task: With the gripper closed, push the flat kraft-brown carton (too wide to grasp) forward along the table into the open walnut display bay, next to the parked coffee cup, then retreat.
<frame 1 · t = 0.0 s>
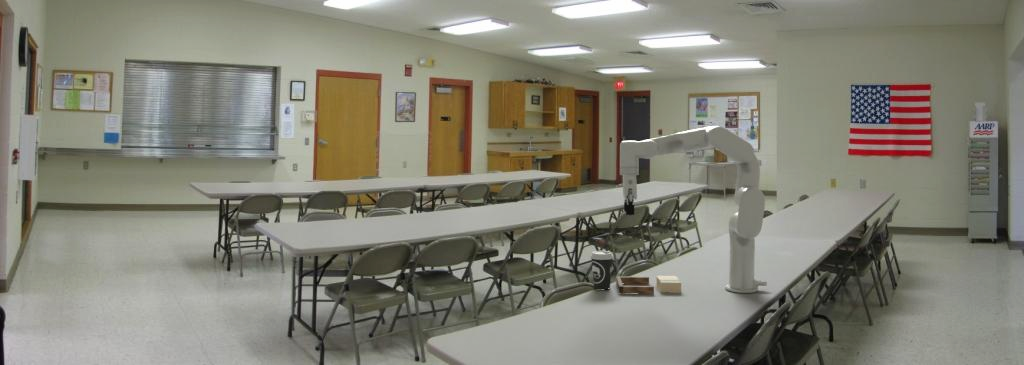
hand: (629, 213, 267), 31 cm above the table, fingers open, 9 cm apart
carton: (668, 289, 268), on the table
coffee cup: (601, 288, 271), on the table
display bay: (636, 288, 269), on the table
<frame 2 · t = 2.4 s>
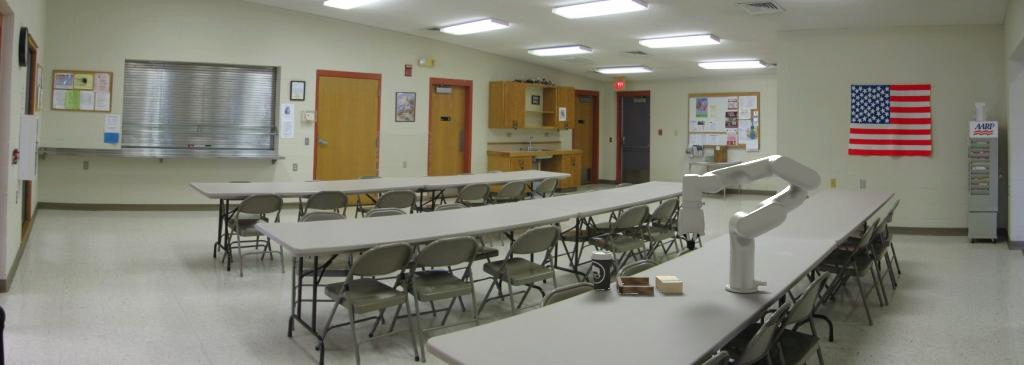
hand: (690, 249, 266), 16 cm above the table, fingers closed
nothing on the table moved.
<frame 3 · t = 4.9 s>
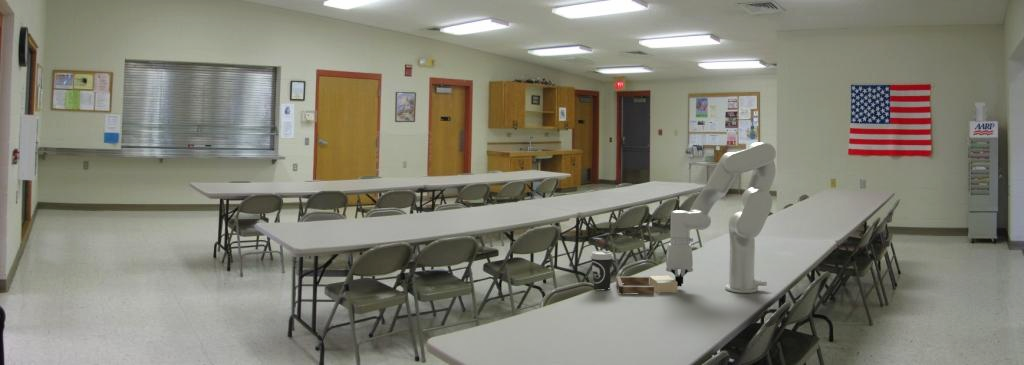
hand: (679, 285, 268), 1 cm above the table, fingers closed
carton: (663, 289, 269), on the table
everything else where it was.
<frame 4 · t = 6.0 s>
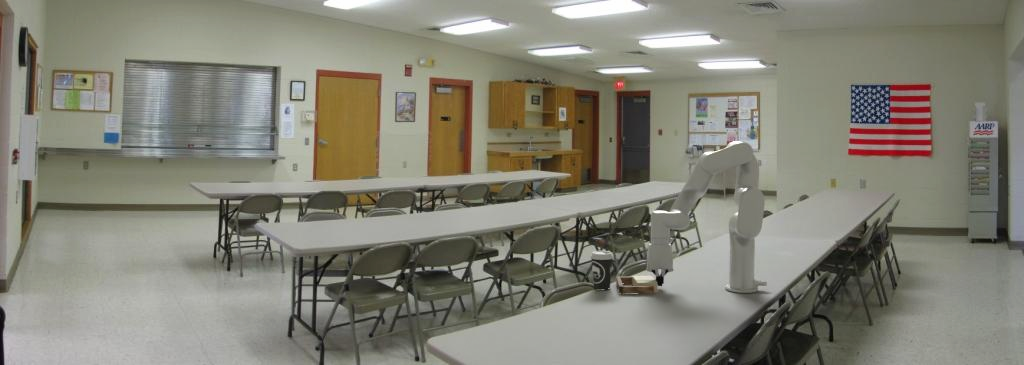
hand: (659, 285, 268), 1 cm above the table, fingers closed
carton: (644, 289, 269), on the table, touching gripper
everything else where it was.
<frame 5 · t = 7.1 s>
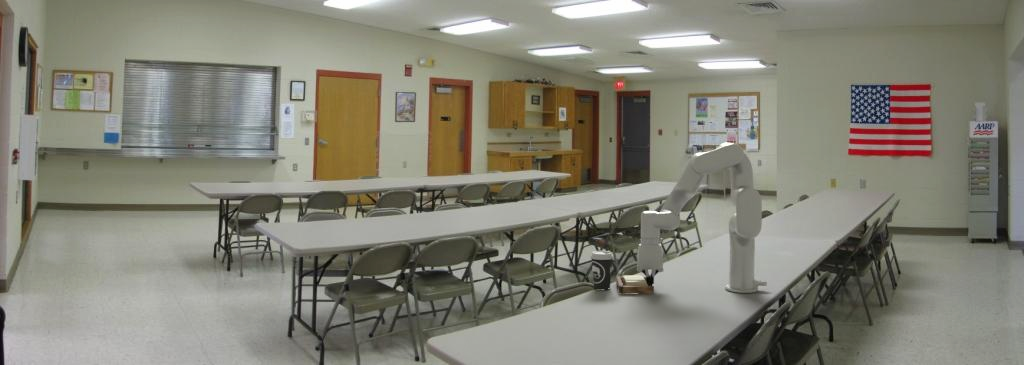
hand: (649, 285, 269), 1 cm above the table, fingers closed
carton: (634, 289, 270), on the table
everything else where it was.
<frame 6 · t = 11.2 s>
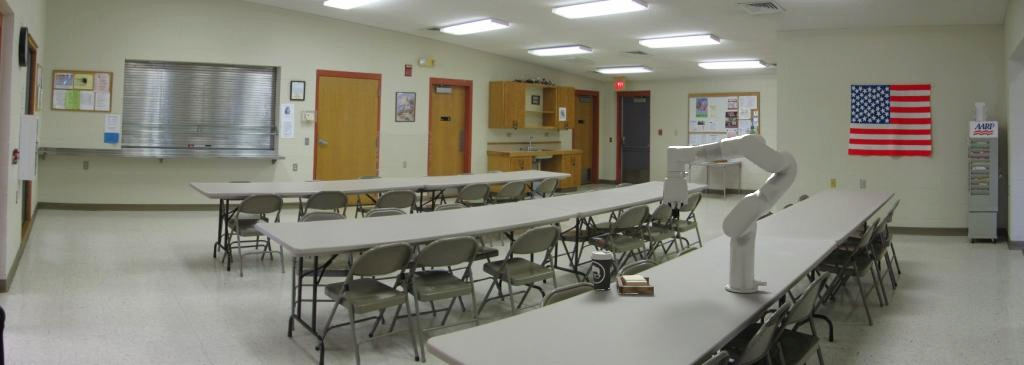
hand: (675, 217, 281), 27 cm above the table, fingers closed
nothing on the table moved.
at the end: carton inside the target area on the display bay (1.8 cm from its centre), point 0.0 cm above the display bay's base; carton tilted 0°; the gripper is holding nothing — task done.
